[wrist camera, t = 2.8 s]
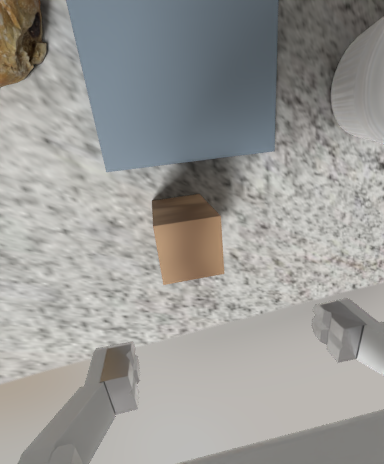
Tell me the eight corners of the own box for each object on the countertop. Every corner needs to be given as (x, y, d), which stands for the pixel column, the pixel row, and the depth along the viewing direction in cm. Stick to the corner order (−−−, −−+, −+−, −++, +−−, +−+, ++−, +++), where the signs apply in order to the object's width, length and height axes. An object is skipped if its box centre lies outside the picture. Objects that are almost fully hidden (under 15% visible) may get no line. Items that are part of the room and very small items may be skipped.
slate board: (109, 170, 22) (106, 172, 21) (72, 9, 18) (65, -2, 17) (267, 150, 24) (274, 151, 23) (269, 1, 20) (278, -10, 18)
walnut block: (159, 244, 26) (163, 284, 19) (151, 200, 24) (153, 226, 17) (203, 237, 27) (224, 273, 19) (199, 193, 25) (220, 215, 17)
